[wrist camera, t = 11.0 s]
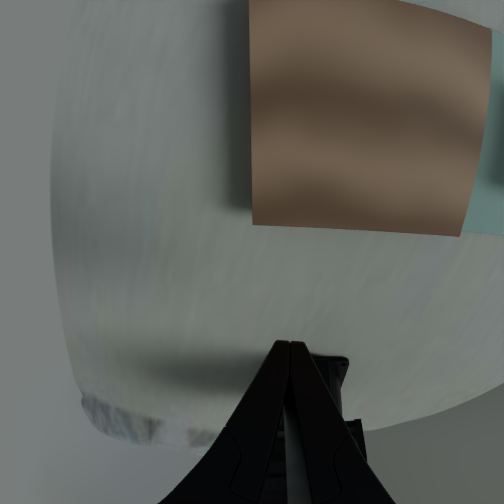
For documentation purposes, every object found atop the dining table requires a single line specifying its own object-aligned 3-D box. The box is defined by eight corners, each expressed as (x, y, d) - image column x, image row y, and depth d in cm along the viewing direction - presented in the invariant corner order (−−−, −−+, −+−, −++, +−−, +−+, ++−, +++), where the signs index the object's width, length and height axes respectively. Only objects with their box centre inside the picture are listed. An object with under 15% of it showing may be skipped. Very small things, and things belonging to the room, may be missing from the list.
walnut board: (447, 221, 19) (459, 236, 17) (255, 209, 20) (252, 225, 18) (474, 30, 12) (492, 30, 10) (252, -5, 13) (248, -13, 11)
